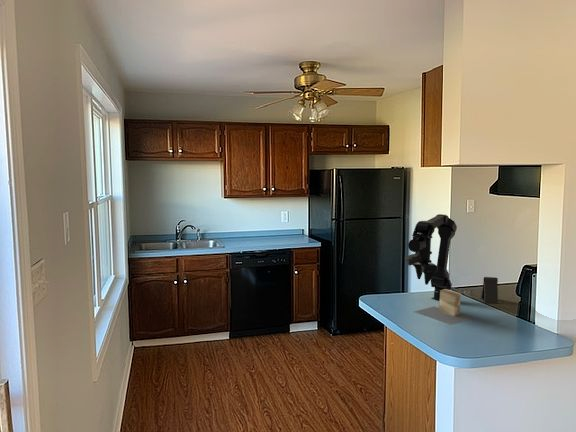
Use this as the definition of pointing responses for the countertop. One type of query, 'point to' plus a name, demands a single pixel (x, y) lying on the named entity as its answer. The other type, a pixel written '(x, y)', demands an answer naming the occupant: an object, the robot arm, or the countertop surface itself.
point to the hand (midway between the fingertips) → (422, 281)
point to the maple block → (449, 302)
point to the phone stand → (490, 290)
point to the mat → (442, 315)
